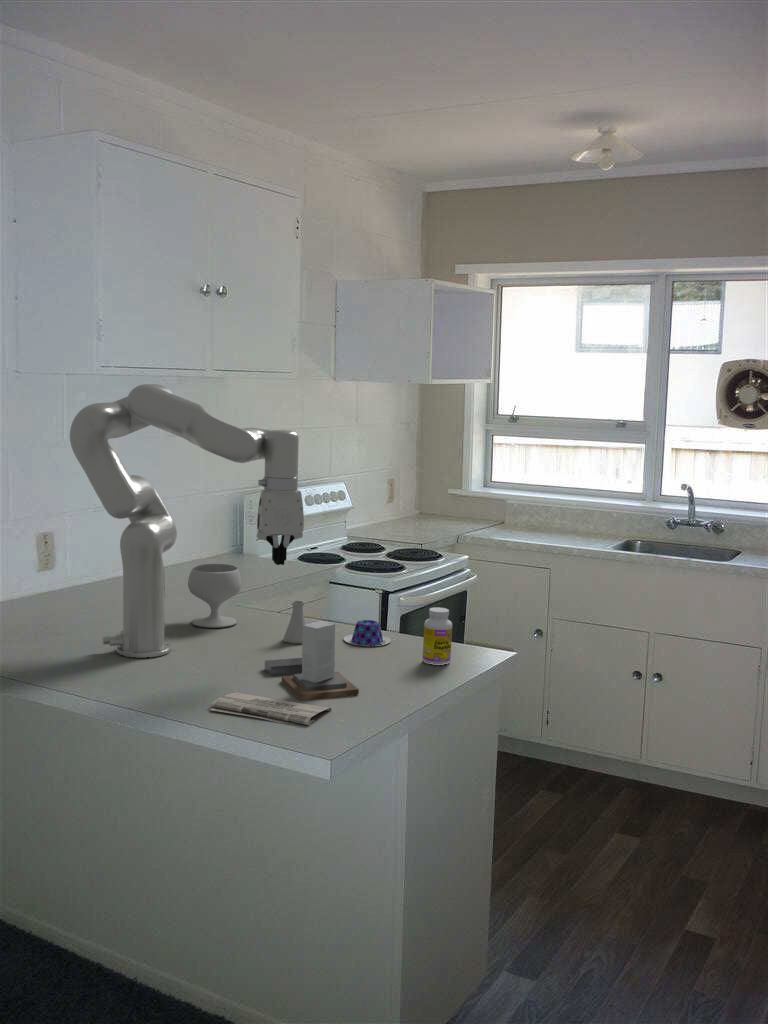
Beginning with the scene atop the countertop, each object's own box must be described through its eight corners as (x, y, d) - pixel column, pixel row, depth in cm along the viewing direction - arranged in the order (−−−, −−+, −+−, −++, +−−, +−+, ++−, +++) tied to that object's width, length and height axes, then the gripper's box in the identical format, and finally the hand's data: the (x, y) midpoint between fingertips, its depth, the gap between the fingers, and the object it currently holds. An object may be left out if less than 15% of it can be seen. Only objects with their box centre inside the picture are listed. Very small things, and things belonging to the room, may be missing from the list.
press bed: (299, 700, 208) (300, 690, 208) (281, 681, 220) (281, 672, 220) (358, 694, 213) (358, 685, 213) (337, 676, 225) (338, 667, 225)
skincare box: (320, 673, 220) (321, 620, 218) (334, 677, 217) (336, 623, 215) (300, 679, 215) (302, 624, 213) (315, 683, 212) (316, 628, 211)
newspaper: (205, 714, 200) (205, 701, 199) (236, 702, 211) (237, 691, 211) (307, 732, 191) (308, 719, 191) (335, 719, 202) (335, 707, 202)
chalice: (227, 615, 277) (228, 561, 275) (249, 626, 266) (250, 570, 264) (179, 620, 270) (179, 565, 268) (200, 632, 258) (200, 574, 256)
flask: (307, 645, 250) (308, 606, 248) (278, 643, 251) (279, 603, 250) (314, 638, 257) (315, 600, 255) (287, 636, 258) (288, 597, 257)
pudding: (334, 643, 254) (334, 623, 253) (359, 633, 264) (360, 614, 263) (374, 651, 248) (375, 630, 247) (399, 641, 258) (400, 621, 257)
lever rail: (270, 675, 224) (270, 666, 224) (264, 669, 229) (264, 660, 228) (334, 670, 230) (334, 661, 230) (327, 664, 234) (327, 655, 234)
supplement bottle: (431, 667, 235) (433, 613, 233) (417, 660, 240) (419, 607, 239) (455, 664, 238) (458, 611, 236) (441, 657, 244) (443, 605, 242)
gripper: (253, 486, 223) (251, 568, 226) (317, 486, 229) (315, 565, 232) (244, 483, 230) (243, 562, 233) (307, 482, 236) (305, 559, 239)
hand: (279, 563), depth 232 cm, fingers closed
